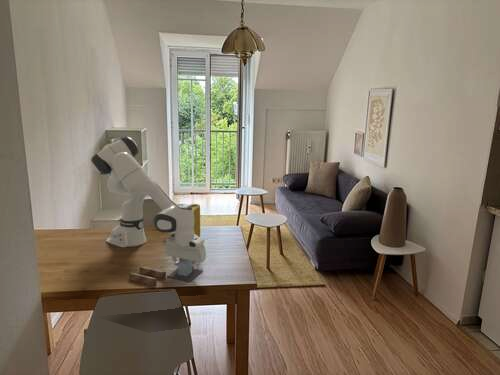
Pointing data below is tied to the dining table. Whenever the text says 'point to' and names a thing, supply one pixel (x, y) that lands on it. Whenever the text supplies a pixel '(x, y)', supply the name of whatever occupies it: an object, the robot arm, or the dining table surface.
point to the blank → (184, 267)
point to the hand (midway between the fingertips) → (185, 267)
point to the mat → (185, 278)
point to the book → (196, 219)
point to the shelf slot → (145, 278)
